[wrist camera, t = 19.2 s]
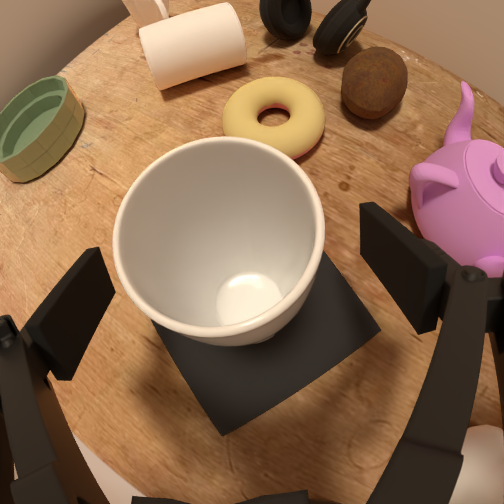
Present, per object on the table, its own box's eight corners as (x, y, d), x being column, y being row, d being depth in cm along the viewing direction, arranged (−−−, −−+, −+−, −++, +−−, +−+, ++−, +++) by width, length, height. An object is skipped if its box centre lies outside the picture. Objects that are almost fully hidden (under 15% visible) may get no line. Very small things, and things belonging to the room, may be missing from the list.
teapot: (473, 314, 22) (539, 289, 14) (366, 198, 26) (395, 132, 18) (524, 230, 24) (575, 190, 16) (433, 135, 28) (465, 76, 20)
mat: (223, 435, 21) (222, 436, 21) (132, 282, 25) (130, 281, 25) (380, 330, 23) (381, 330, 22) (276, 192, 27) (276, 189, 27)
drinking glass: (261, 246, 25) (242, 104, 11) (316, 317, 23) (376, 244, 9) (188, 297, 24) (81, 207, 10) (239, 372, 22) (176, 388, 8)
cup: (168, 12, 40) (157, -27, 32) (196, 31, 37) (185, -15, 29) (129, 31, 39) (113, -8, 31) (150, 53, 36) (133, 6, 28)
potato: (323, 113, 30) (329, 66, 24) (355, 66, 32) (363, 25, 26) (384, 141, 28) (401, 97, 22) (407, 89, 31) (421, 49, 25)
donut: (218, 165, 31) (311, 184, 28) (199, 141, 27) (305, 159, 24) (251, 88, 32) (336, 99, 29) (238, 60, 28) (333, 68, 25)
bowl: (10, 204, 30) (-16, 184, 25) (4, 141, 34) (-15, 121, 29) (96, 138, 31) (75, 109, 26) (75, 86, 35) (60, 62, 31)
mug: (250, 76, 32) (243, 18, 25) (163, 104, 32) (141, 49, 24) (221, 30, 36) (212, -17, 29) (150, 53, 36) (133, 7, 28)
